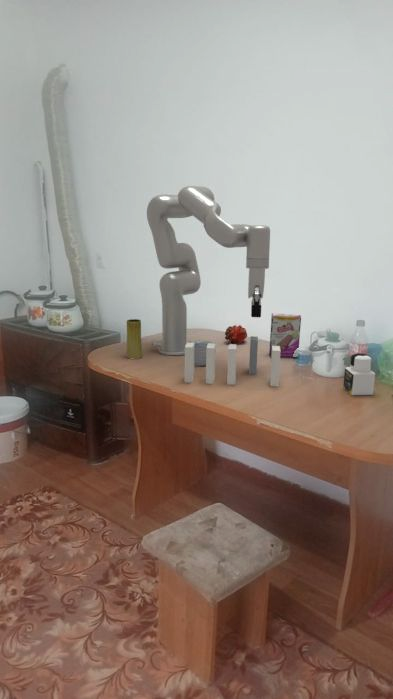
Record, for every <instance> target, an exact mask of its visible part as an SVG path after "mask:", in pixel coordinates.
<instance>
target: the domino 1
mask: <svg viewBox="0 0 393 699" xmlns="http://www.w3.org/2000/svg"><path fill="white" fill-rule="evenodd" d="M194 346H195V343H189V342H186V346H185V354H184V383H186V384H187V383H189V384H192V383H193V381H194V379H195V366H194Z"/></svg>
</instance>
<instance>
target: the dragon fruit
mask: <svg viewBox="0 0 393 699" xmlns="http://www.w3.org/2000/svg"><path fill="white" fill-rule="evenodd" d="M247 337H248V333H247V329H246V328H245V327H243V326H242V325H241V324H240V325H238V326H237V325H236V324H235V325H232V326H228V327H226V330H225V332H224V339H225V340H227V342H229V344H235V343H236V344H243V343H244V342H245V340H246V338H247Z"/></svg>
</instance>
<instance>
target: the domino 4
mask: <svg viewBox="0 0 393 699" xmlns="http://www.w3.org/2000/svg"><path fill="white" fill-rule="evenodd" d="M249 340H250V344H249V362H248V363H249V366H248V371H249V372H248V374H249V375H257V373H258V372H257V369H258V348H259V346H258V344H259V337H258V336H255V335H254V336H252V335H251V336H250V339H249Z"/></svg>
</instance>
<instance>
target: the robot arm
mask: <svg viewBox="0 0 393 699" xmlns="http://www.w3.org/2000/svg"><path fill="white" fill-rule="evenodd" d="M214 195H215V194H214V193H213V191H212V190H211V189H210V188H208V187H206V186H200V185H199V186H196V185H187V186H184V187H183V188H180V190H179V191H178V194H159V195H156V196H154V197H152V198H151V199H150V200H149V202H148V204H147V207H146V219H147V223H148V225H149V228H150V231H151V234H152V239H153V244H154V248H155V253H156V258H157V262H158V264H159V266H160V267H161V268H163V269H169V270H170V269H178V270H176V271H169V272H167V273H165V274H163V275H162V276H161V277H160V279H159V291H160V292H159V293H160V295H161V296H160V297H161V307H162V308H161V311H162V312H161V314H162V315H161V316H162V318H161V319H162V320H161V321H162V323H161V324H162V325H161V326H162V330H161V331H162V339H160V340H151V346H153V347H159V348H158V353H160V354H161V355H166V356H185V346H186V344H187V333H188V332H187V330H188V329H187V326H188V325H187V322H188V321H187V319H188V317H187V313H188V310H187V304H186V302H185V301H186V300H185V299H184V296H186V295H187V296H188V295H193V294H195V293H197V292H198V291H199V290H200V288H201V275H200V270H199V264H198V261H197V256H196V253H195V250H194V249H193V248H192V246H191V245H190V244H188V243H185V242H178V240H177V237H176V233H175V230H174V228H173V226H172V224H171V223H170V222H169V221H168V219H185V218H190V217H193V218H195V219H196V220H198V221H199V222H200V223H202V224H203V228H204V231H205V233H206V234H207V236H209V237H210V239H212V240H213V241H214V242H215V243H216V244H219V245H220V246H222V247H224V248H228V249H232V248H233V249H234V248H245V247H246V259H245V260H246V264H245V268H246V269H248V284H247V286H248V288H247V297H248V299H249V300H250V299H251V298H252V299H251V308H250V309H251V310H250V311H251V312H250V313H251V314H250V316H251V318H261V317H262V299H263V298H264V292H265V277H266V270H267V269H269V268H270V251H271V250H270V249H271V248H270V246H271V244H270V242H271V229H270V226H268V225H251V224H243V223H242V224H239V223H237V224H235V223H234V224H230V223H227V222H226V221H225V220H223V219H222V218H221V217H220V216H221V212H222V208H221V206H220V204H219V203H218V202H216V201H215V196H214Z"/></svg>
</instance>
